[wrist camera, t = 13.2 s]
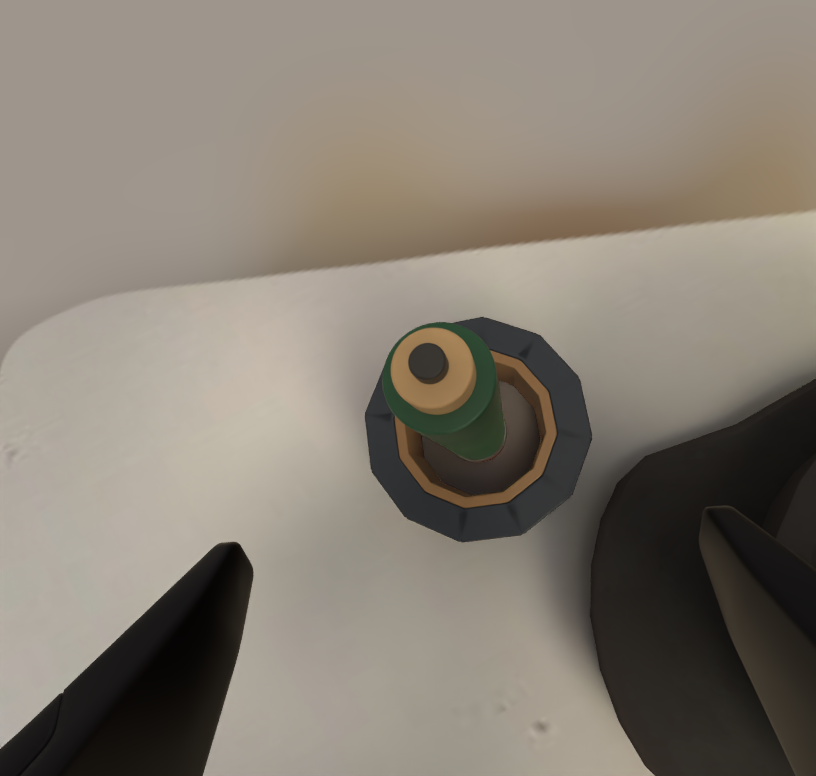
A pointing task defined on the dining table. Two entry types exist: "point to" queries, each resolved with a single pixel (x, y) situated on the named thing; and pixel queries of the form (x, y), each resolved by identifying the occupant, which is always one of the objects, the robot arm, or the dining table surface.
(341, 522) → the dining table surface
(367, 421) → the tape roll
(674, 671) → the casserole
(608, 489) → the dining table surface
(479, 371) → the pencil
